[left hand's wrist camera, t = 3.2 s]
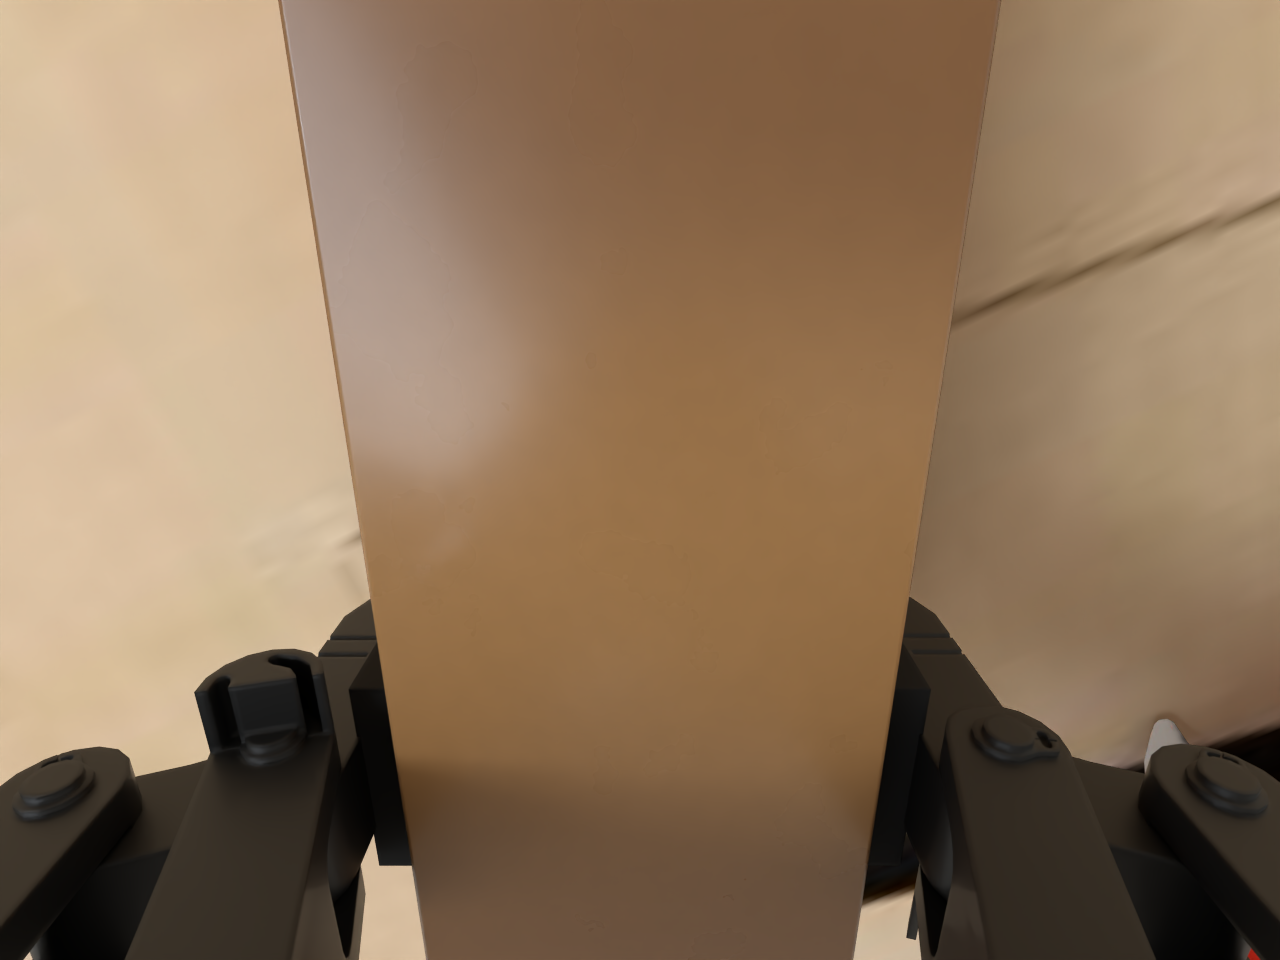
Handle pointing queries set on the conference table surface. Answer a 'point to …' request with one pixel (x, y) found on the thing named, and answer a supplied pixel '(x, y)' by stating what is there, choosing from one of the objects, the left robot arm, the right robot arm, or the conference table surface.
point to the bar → (639, 438)
